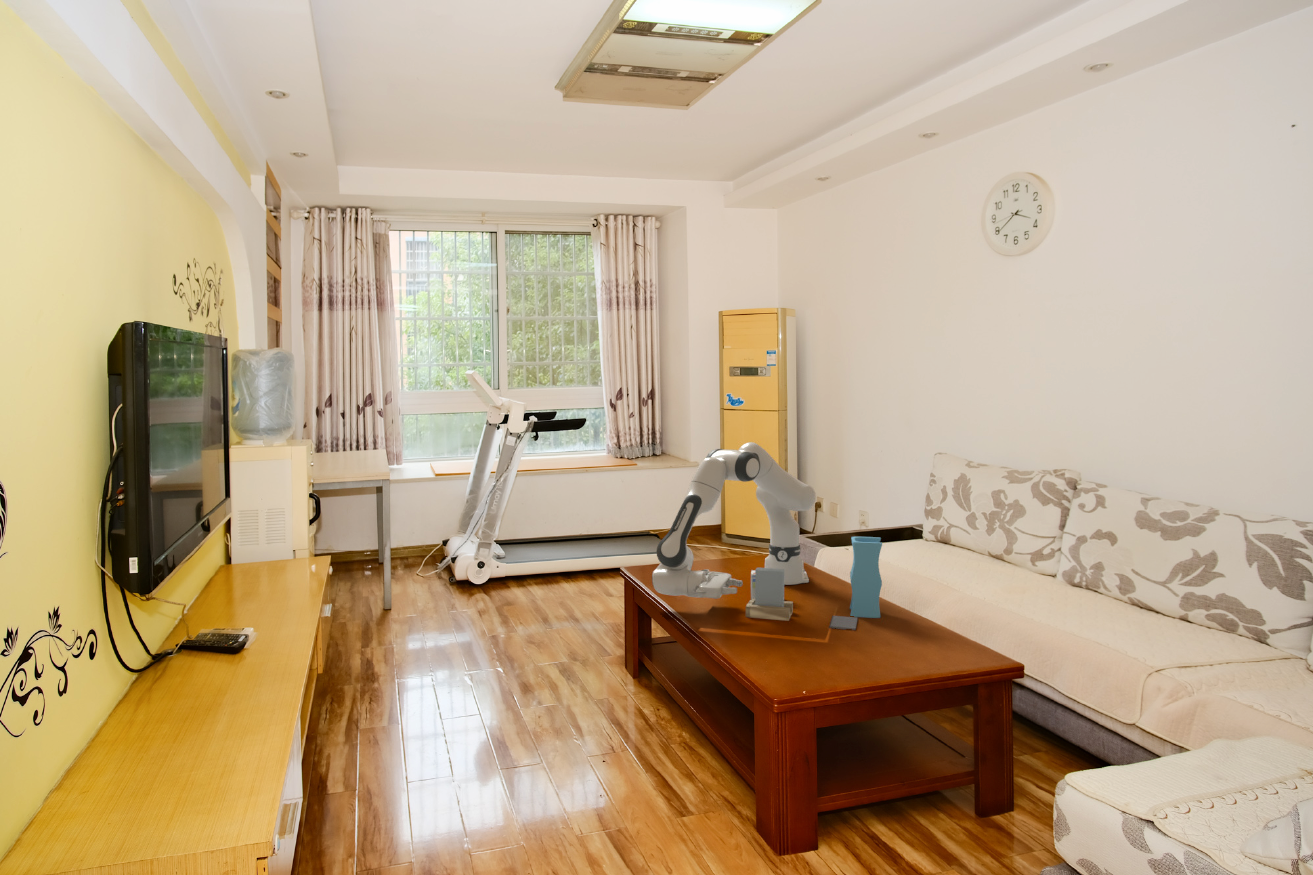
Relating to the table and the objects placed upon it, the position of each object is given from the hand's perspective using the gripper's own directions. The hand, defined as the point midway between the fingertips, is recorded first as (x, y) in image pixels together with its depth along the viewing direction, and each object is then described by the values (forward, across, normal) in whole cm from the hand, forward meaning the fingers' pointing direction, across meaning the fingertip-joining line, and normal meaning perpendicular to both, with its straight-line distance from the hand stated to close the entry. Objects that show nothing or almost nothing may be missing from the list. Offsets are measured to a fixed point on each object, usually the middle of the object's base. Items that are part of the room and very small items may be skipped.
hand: (739, 587), depth 280 cm
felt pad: (+32, 0, +9) cm, 33 cm away
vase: (+40, +14, +10) cm, 43 cm away
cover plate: (+10, 0, +8) cm, 13 cm away
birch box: (+10, 0, +9) cm, 14 cm away
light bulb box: (+6, +18, +10) cm, 21 cm away
